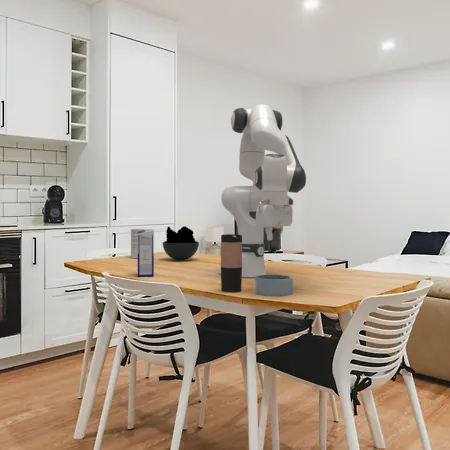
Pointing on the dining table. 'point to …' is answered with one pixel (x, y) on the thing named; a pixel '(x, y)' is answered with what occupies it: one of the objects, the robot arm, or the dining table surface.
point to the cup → (274, 285)
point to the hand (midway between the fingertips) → (274, 239)
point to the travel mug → (231, 262)
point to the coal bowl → (180, 244)
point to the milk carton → (146, 253)
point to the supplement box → (135, 242)
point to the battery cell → (275, 239)
